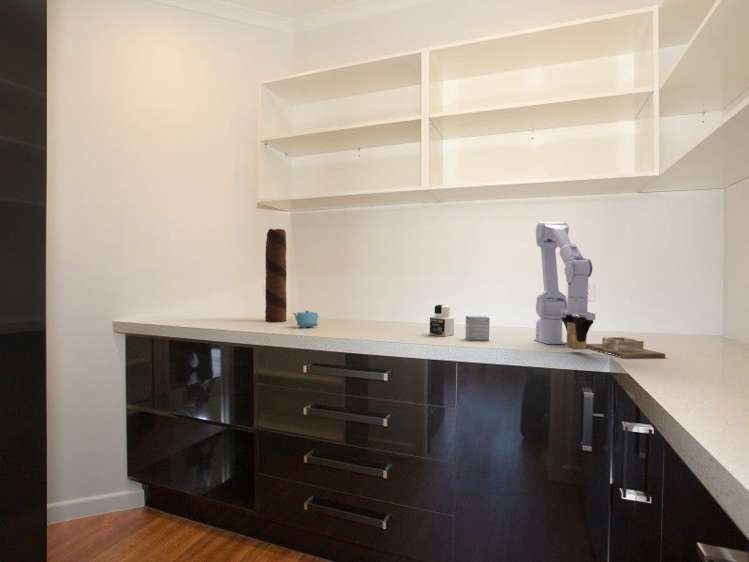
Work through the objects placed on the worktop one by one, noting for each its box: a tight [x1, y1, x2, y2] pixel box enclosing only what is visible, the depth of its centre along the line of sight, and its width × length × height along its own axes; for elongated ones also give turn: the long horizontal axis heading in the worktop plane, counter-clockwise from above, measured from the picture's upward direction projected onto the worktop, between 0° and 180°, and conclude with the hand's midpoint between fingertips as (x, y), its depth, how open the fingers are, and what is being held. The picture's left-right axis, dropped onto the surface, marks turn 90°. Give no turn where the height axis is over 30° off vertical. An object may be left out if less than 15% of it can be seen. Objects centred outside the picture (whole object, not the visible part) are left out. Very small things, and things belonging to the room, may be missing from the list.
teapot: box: [292, 310, 319, 329], centre depth 178 cm, size 12×6×8 cm, turn 118°
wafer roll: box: [264, 228, 287, 323], centre depth 199 cm, size 10×11×45 cm
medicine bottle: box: [429, 304, 455, 338], centre depth 163 cm, size 7×7×12 cm
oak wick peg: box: [566, 322, 588, 350], centre depth 128 cm, size 4×4×8 cm
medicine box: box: [465, 315, 491, 341], centre depth 152 cm, size 8×4×9 cm, turn 92°
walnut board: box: [586, 336, 666, 359], centre depth 130 cm, size 18×14×4 cm
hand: (576, 340), depth 128 cm, fingers closed on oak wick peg, 4 cm apart
